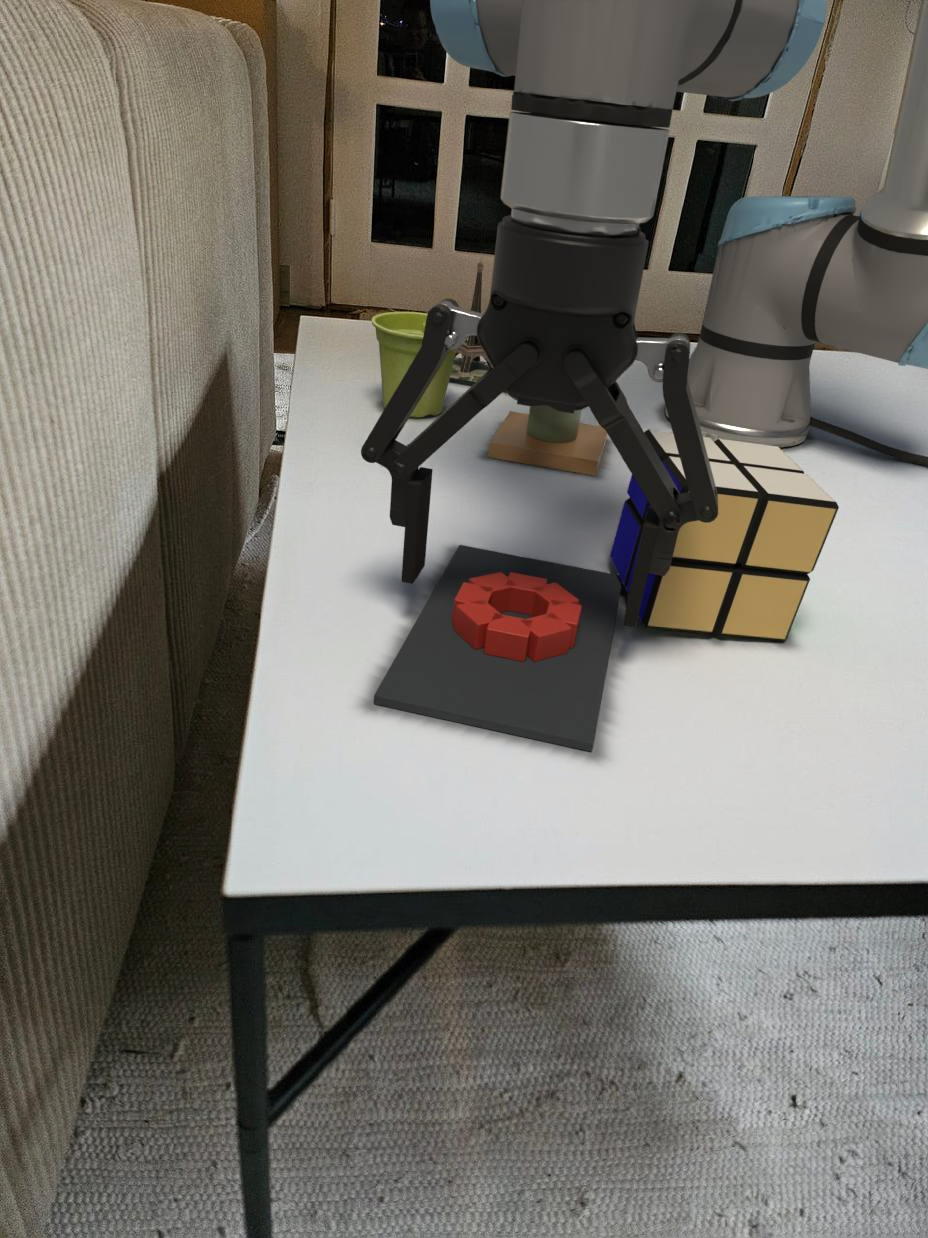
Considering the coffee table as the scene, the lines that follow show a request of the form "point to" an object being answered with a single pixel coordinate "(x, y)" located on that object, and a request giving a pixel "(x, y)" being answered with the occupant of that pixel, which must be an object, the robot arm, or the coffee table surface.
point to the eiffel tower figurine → (471, 345)
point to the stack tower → (549, 440)
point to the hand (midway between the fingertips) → (519, 595)
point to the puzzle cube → (732, 543)
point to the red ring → (510, 634)
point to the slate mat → (499, 687)
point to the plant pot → (408, 358)
